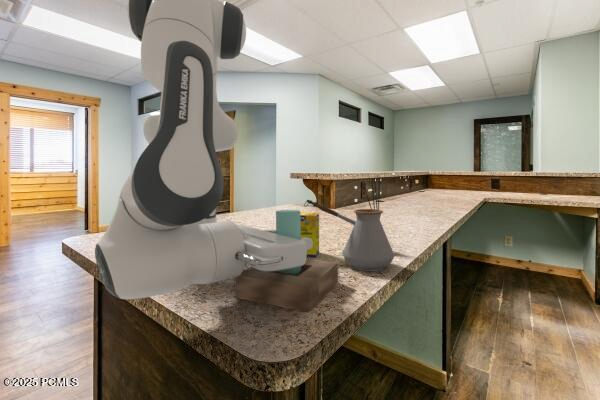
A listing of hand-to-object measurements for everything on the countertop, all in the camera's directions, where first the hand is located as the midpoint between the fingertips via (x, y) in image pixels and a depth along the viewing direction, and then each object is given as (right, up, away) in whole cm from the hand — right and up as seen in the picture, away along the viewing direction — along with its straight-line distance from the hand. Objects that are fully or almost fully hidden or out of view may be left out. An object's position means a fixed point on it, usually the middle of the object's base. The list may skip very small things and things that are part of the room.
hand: (293, 238), depth 56 cm
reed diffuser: (+22, -7, +29) cm, 37 cm away
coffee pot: (+12, -8, +16) cm, 22 cm away
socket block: (-1, -9, 0) cm, 10 cm away
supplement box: (+3, -8, +25) cm, 26 cm away
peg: (-1, -8, 0) cm, 8 cm away
